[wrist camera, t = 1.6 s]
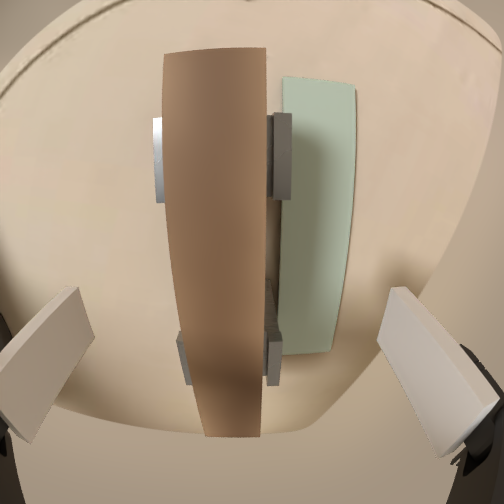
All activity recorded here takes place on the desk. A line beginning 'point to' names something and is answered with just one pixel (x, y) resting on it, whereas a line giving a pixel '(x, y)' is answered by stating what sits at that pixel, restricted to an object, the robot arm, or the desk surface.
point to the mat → (316, 212)
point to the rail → (218, 226)
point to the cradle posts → (275, 188)
